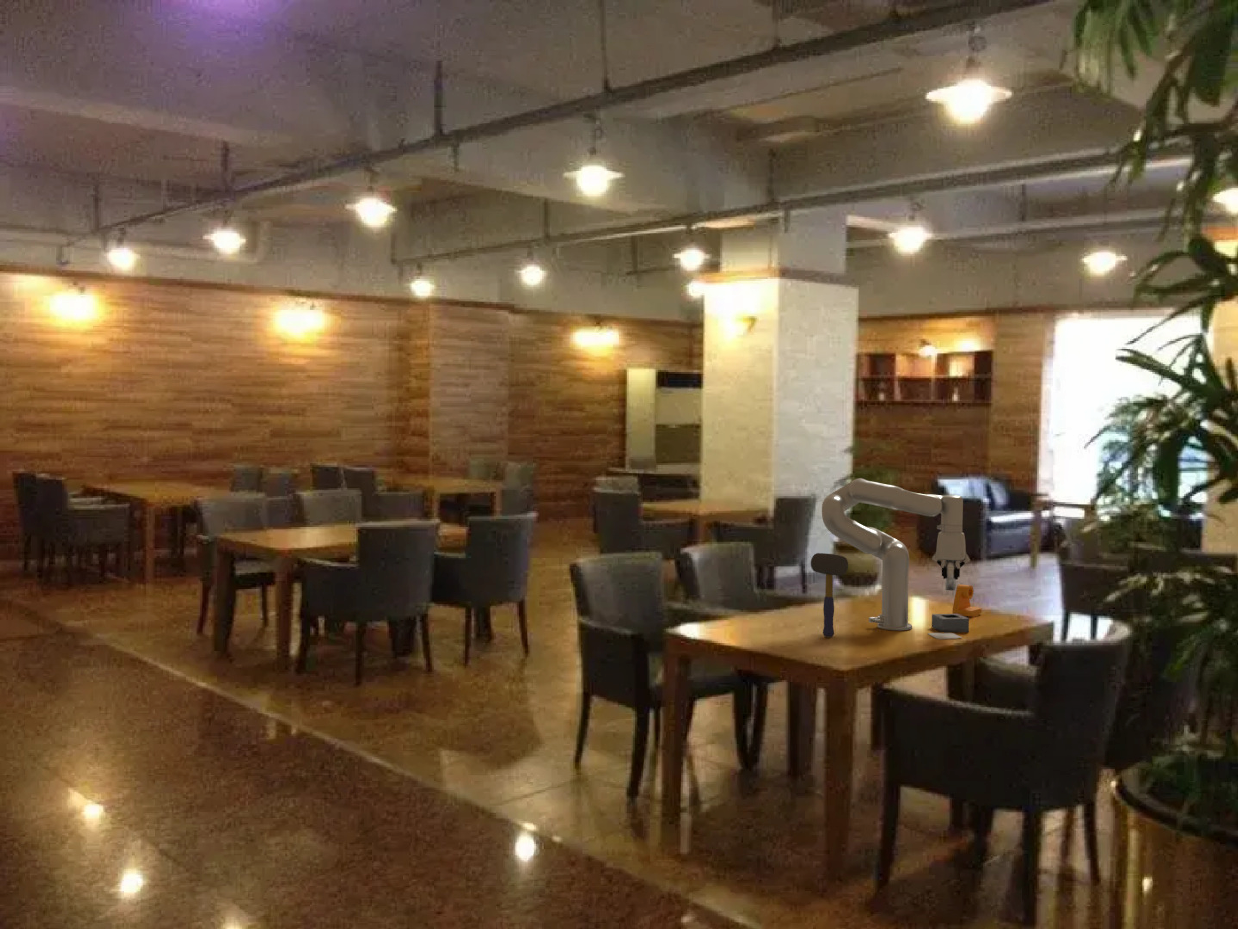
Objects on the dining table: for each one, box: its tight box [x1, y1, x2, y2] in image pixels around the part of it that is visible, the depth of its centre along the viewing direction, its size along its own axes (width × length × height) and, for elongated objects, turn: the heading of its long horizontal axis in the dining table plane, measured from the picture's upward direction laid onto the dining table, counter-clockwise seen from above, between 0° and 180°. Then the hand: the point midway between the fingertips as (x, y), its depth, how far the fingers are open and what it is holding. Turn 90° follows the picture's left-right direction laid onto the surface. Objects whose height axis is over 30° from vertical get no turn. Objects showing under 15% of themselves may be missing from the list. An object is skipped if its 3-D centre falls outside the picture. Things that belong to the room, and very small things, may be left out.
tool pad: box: [927, 632, 963, 640], centre depth 413 cm, size 9×9×1 cm
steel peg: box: [944, 560, 957, 592], centre depth 424 cm, size 5×5×13 cm
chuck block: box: [931, 613, 970, 633], centre depth 425 cm, size 10×10×5 cm
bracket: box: [951, 583, 983, 618], centre depth 455 cm, size 11×7×12 cm, turn 136°
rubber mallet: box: [810, 552, 849, 639], centre depth 410 cm, size 12×8×30 cm, turn 40°
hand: (950, 578), depth 424 cm, fingers closed on steel peg, 3 cm apart
